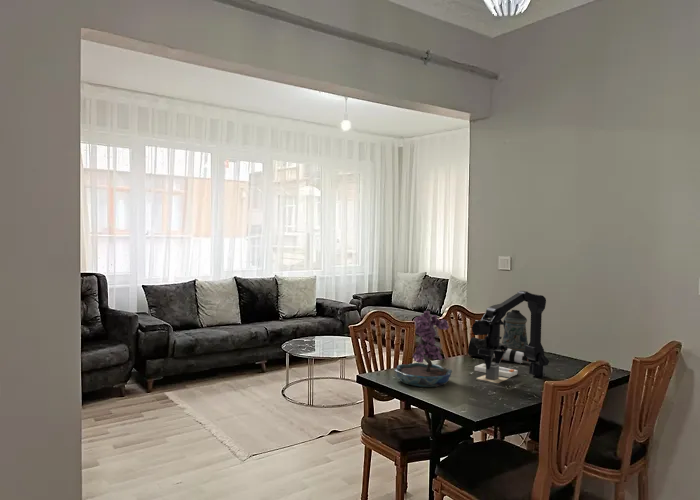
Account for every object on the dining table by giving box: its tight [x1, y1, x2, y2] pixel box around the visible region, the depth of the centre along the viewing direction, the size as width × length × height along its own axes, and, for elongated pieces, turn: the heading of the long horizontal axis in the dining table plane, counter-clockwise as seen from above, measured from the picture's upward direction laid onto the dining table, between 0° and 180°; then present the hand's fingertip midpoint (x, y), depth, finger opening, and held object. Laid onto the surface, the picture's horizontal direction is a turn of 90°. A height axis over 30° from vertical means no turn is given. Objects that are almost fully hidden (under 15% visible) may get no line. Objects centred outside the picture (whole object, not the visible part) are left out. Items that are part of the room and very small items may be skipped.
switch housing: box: [474, 363, 518, 379], centre depth 261 cm, size 18×9×4 cm, turn 49°
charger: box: [485, 361, 500, 380], centre depth 249 cm, size 4×4×7 cm
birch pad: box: [475, 374, 509, 386], centre depth 249 cm, size 11×11×1 cm
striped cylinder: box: [467, 336, 528, 364], centre depth 291 cm, size 10×34×10 cm, turn 60°
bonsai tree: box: [393, 310, 453, 388], centre depth 246 cm, size 35×27×32 cm
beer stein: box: [500, 309, 529, 356], centre depth 310 cm, size 16×19×25 cm
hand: (492, 367), depth 249 cm, fingers open, 9 cm apart
